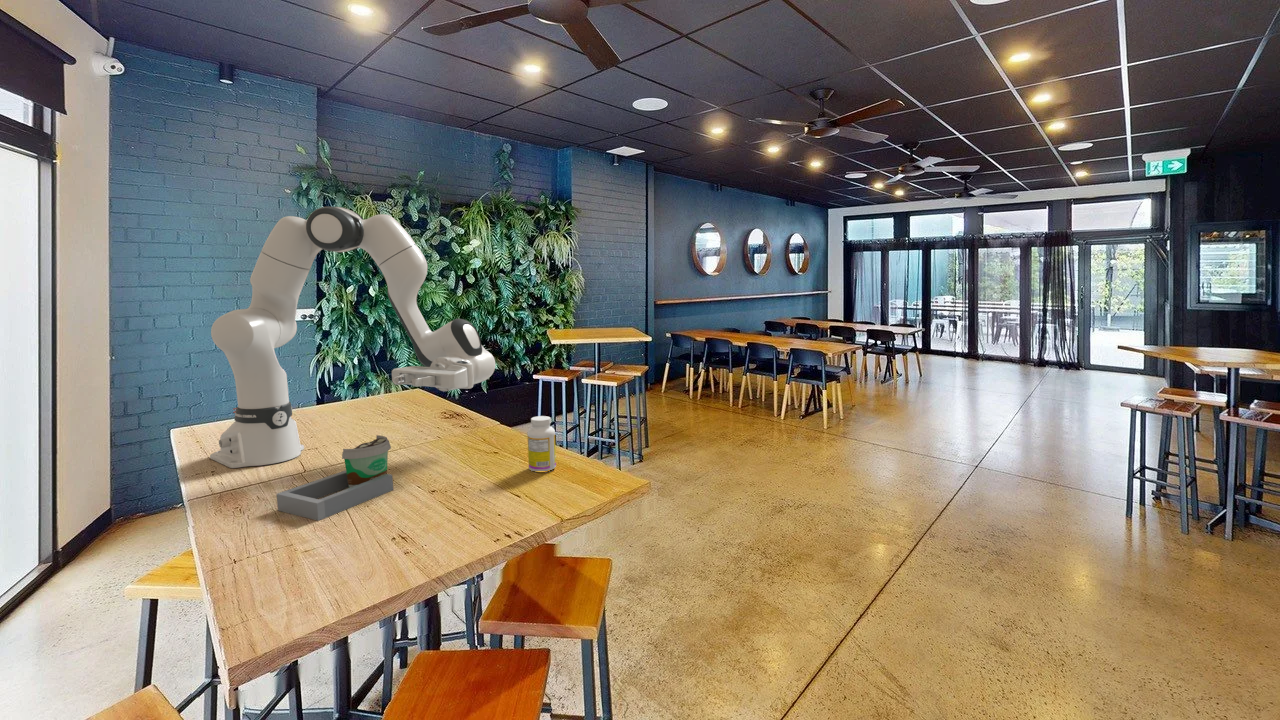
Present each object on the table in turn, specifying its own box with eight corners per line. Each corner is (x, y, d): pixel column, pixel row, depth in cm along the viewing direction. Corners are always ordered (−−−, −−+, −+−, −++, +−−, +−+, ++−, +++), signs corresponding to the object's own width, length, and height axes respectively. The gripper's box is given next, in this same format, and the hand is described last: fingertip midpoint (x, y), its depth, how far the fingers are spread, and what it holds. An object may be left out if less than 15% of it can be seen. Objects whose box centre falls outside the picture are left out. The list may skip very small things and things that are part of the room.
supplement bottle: (542, 463, 146) (541, 413, 144) (561, 468, 142) (560, 417, 140) (522, 470, 140) (521, 418, 139) (542, 475, 136) (540, 422, 135)
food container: (369, 496, 124) (366, 451, 122) (344, 494, 125) (341, 449, 123) (404, 477, 135) (401, 435, 134) (380, 475, 137) (378, 434, 135)
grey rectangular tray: (277, 510, 116) (276, 493, 115) (354, 482, 132) (353, 467, 132) (318, 520, 111) (317, 503, 110) (393, 489, 127) (392, 474, 127)
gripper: (416, 359, 152) (372, 366, 140) (477, 363, 144) (436, 371, 132) (417, 382, 153) (374, 391, 141) (478, 388, 145) (438, 398, 132)
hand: (404, 382), depth 136 cm, fingers open, 4 cm apart
